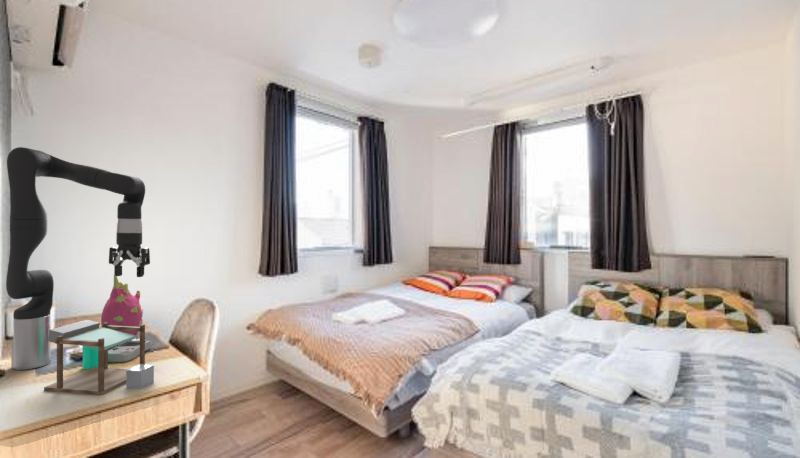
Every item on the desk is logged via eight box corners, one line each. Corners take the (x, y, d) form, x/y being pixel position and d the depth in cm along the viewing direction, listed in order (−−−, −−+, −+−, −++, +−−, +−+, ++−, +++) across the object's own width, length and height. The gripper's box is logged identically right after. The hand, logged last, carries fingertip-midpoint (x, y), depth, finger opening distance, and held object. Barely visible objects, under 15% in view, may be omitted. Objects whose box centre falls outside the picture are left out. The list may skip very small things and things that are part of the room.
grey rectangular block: (141, 371, 114) (141, 389, 114) (153, 365, 119) (153, 382, 119) (126, 370, 114) (126, 387, 114) (139, 364, 119) (139, 381, 119)
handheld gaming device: (101, 363, 134) (101, 353, 134) (127, 349, 148) (127, 340, 148) (127, 363, 135) (127, 353, 134) (150, 349, 149) (150, 340, 149)
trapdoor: (47, 341, 113) (49, 329, 113) (85, 329, 125) (87, 319, 125) (101, 355, 111) (103, 343, 111) (134, 342, 123) (136, 331, 123)
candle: (92, 369, 127) (92, 335, 127) (77, 368, 128) (77, 333, 128) (108, 363, 133) (108, 330, 133) (95, 361, 134) (95, 328, 134)
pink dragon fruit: (140, 348, 148) (140, 273, 148) (96, 354, 142) (96, 275, 141) (144, 336, 164) (144, 268, 163) (105, 341, 157) (105, 270, 156)
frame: (44, 390, 112) (44, 335, 111) (94, 369, 127) (94, 321, 127) (101, 395, 109) (101, 339, 109) (145, 373, 125) (145, 324, 125)
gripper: (102, 231, 131) (102, 277, 131) (138, 232, 129) (138, 278, 130) (120, 230, 138) (120, 274, 139) (155, 231, 137) (155, 275, 137)
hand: (129, 276), depth 134 cm, fingers open, 8 cm apart
